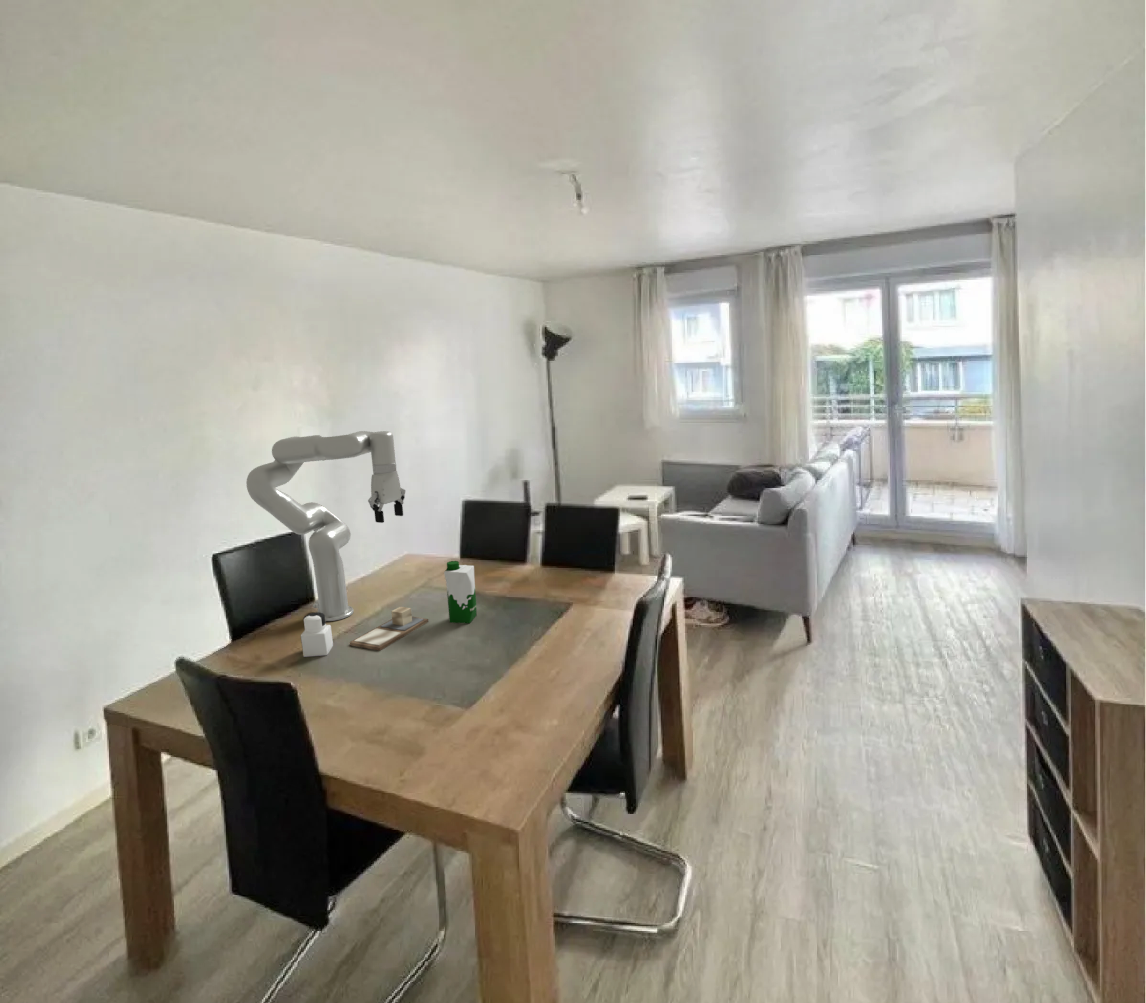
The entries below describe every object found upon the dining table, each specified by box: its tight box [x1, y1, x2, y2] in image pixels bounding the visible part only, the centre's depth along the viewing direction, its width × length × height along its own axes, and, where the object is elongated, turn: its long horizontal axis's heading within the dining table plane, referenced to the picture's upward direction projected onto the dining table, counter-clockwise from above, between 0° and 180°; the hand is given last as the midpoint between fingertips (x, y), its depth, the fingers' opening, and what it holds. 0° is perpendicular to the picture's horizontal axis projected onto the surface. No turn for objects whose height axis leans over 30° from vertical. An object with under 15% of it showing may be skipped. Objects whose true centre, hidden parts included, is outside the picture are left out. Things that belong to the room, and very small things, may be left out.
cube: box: [390, 606, 413, 626], centre depth 218 cm, size 4×4×4 cm
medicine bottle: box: [300, 611, 334, 658], centre depth 201 cm, size 7×7×12 cm
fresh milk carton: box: [443, 560, 477, 624], centre depth 221 cm, size 9×9×20 cm
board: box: [349, 616, 429, 652], centre depth 214 cm, size 12×24×1 cm, turn 155°
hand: (389, 518), depth 222 cm, fingers open, 9 cm apart
